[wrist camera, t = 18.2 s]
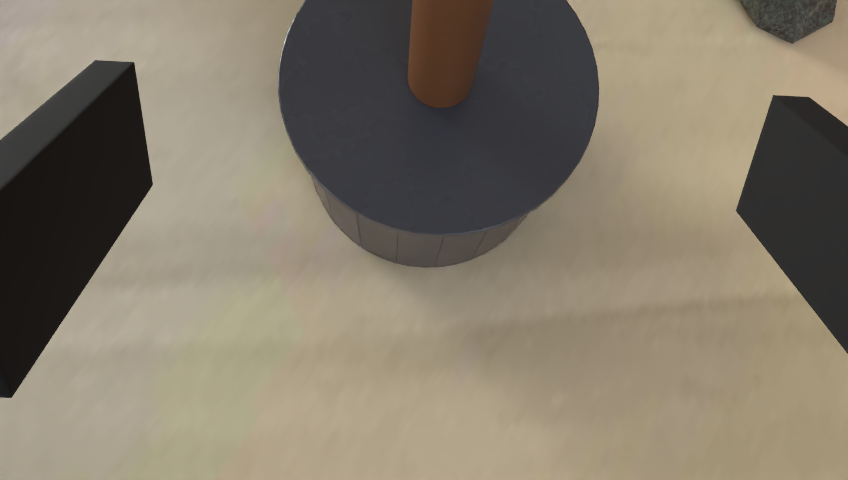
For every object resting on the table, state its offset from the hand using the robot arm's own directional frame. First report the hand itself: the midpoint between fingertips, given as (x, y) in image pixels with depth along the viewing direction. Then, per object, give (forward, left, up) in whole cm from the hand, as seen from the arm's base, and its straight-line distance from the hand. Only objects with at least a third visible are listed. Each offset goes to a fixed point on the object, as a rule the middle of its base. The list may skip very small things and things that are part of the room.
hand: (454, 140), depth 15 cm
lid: (-3, +8, -15) cm, 17 cm away
